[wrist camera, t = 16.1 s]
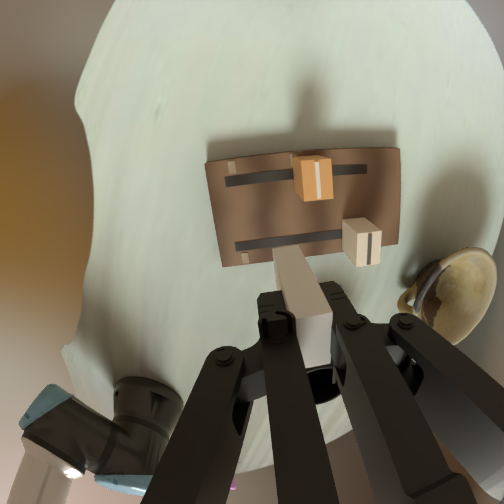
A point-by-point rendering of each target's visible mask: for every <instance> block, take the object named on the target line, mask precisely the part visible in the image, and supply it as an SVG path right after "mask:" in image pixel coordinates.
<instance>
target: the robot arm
mask: <svg viewBox="0 0 504 504" xmlns="http://www.w3.org/2000/svg"><path fill="white" fill-rule="evenodd" d="M272 252H273V261H274V269H275V278H276V287H277V291H273V292H266V293H261V294H260V295H259V297H258V299H257V305H258V314H259V320H258V327H259V333H260V338H259V340H258V342H257V343H256V344H255V345H253V346H252V347H250V348H248V349H245V350H242V351H241V350H239V349H238V348H236V347H232V346H222V347H219V348H216V349H215V350H213V351H212V352H210V354H209V355H208V356H207V358H206V360H205V362H204V365H203V367H202V369H201V371H200V373H199V376H198V378H197V380H196V382H195V384H194V387H193V389H192V391H191V393H190V396H189V398H188V400H187V402H186V404H185V407H184V409H183V402H182V400H181V398H180V397H179V396H178V395H177V394H176V393H175V392H174V391H172V390H171V389H170V388H168V387H166V386H164V385H162V384H160V383H158V382H155V381H153V380H149V379H145V378H140V377H128V378H124V379H121V380H120V381H119V382H118V383H117V385H116V388H115V390H114V418H113V421H111V420H109V419H108V418H106V417H104V416H103V415H101V414H99V413H98V412H96V411H95V410H93V409H92V408H90V407H89V406H87V405H86V404H84V403H83V402H81V401H80V400H79V399H77V398H76V397H74V395H73V394H70V393H68V392H67V391H65V390H64V389H62V388H61V387H59V386H58V385H56V384H49V385H47V386H46V387H45V388H44V389H43V390H42V392H41V393H40V394H39V395H38V397H37V398H36V399H35V400H34V401H33V403H32V404H31V405H30V407H29V408H28V410H27V411H26V412H25V414H24V415H23V417H22V418H21V420H20V421H19V426H20V427H21V429H22V430H25V431H24V433H23V435H22V437H21V440H22V443H23V445H24V448H25V454H24V456H23V459H22V461H21V464H20V466H19V469H18V472H17V475H16V477H15V480H14V483H13V485H12V488H11V491H10V495H9V498H8V501H7V504H65V502H66V499H67V496H68V492H69V489H70V486H71V483H72V480H74V479H77V478H81V477H83V476H84V474H85V470H88V471H90V472H92V473H94V474H95V476H94V478H95V482H96V483H97V484H100V485H102V486H103V487H106V488H108V489H111V490H115V491H118V492H123V493H127V494H132V495H138V496H144V497H143V499H142V501H141V503H140V504H226V500H227V498H228V494H229V491H230V487H231V484H232V480H233V477H234V474H235V470H236V466H237V463H238V459H239V456H240V452H241V448H242V445H243V441H244V437H245V433H246V430H247V426H248V422H249V418H250V414H251V410H252V406H253V400H255V399H258V398H260V397H263V396H265V395H267V404H268V413H269V422H270V431H271V440H272V450H273V459H274V467H275V477H276V486H277V495H278V504H339V500H338V496H337V491H336V487H335V483H334V478H333V474H332V470H331V466H330V462H329V458H328V453H327V449H326V445H325V441H324V437H323V433H322V429H321V425H320V421H319V417H318V413H317V409H316V406H315V402H314V398H313V394H312V390H311V386H310V383H309V379H308V375H307V371H306V368H310V367H315V366H320V365H325V364H330V362H331V356H332V359H333V362H334V367H333V378H332V382H333V384H335V380H336V381H337V384H338V386H339V389H340V392H341V395H342V398H343V401H344V404H345V407H346V410H347V413H348V416H349V419H350V422H351V425H352V428H353V431H354V434H355V437H356V440H357V443H358V446H359V450H360V453H361V456H362V459H363V463H364V466H365V469H366V472H367V476H368V479H369V483H370V486H371V489H372V493H373V496H374V500H375V504H477V502H476V499H475V497H474V494H473V492H472V490H471V487H470V485H469V483H468V481H467V479H466V478H465V477H464V476H463V475H462V474H459V473H455V472H452V471H451V470H450V469H449V467H448V465H447V463H446V460H445V458H444V456H443V454H442V452H441V450H440V447H439V445H438V443H437V441H436V439H435V437H434V435H433V433H434V434H435V435H436V436H437V437H438V438H439V439H440V441H441V442H442V443H443V444H444V445H445V446H446V447H447V449H448V450H449V451H450V452H451V453H452V454H453V455H454V457H455V458H456V459H457V460H458V461H459V462H460V463H461V465H462V466H463V467H464V468H465V469H466V470H467V472H468V473H469V474H470V475H471V476H472V477H473V479H474V480H475V481H476V482H477V483H478V484H479V485H480V486H481V487H482V489H483V490H484V491H485V492H487V493H488V494H489V495H491V496H492V497H494V498H496V499H498V500H500V503H499V504H504V388H503V387H502V386H501V385H500V384H499V383H497V382H496V381H495V380H494V379H493V378H492V377H491V376H489V375H488V374H487V373H486V372H485V371H484V370H483V369H481V368H480V367H479V366H478V365H477V364H475V363H474V362H473V361H472V360H471V359H470V358H468V357H467V356H466V355H465V354H463V353H462V352H461V351H459V349H457V348H456V347H455V346H454V345H452V344H451V343H450V342H449V341H447V340H446V339H445V338H444V337H442V336H441V335H440V334H439V333H437V332H436V331H435V330H434V329H432V328H431V327H430V326H429V325H427V324H426V323H425V322H423V321H422V320H421V319H420V318H418V317H417V316H415V315H413V314H410V313H398V314H395V315H394V316H392V317H391V319H390V322H389V323H388V324H377V323H371V322H370V321H369V320H368V319H367V318H366V317H365V316H363V315H361V314H357V312H356V310H355V309H354V307H353V305H352V304H351V302H350V301H349V299H348V298H347V296H346V294H345V293H344V291H343V289H342V288H341V286H340V285H338V284H337V283H335V282H334V281H330V282H324V283H318V282H317V280H316V278H315V276H314V274H313V272H312V270H311V268H310V266H309V264H308V262H307V260H306V259H305V257H304V255H303V253H302V251H301V249H300V247H299V245H294V246H287V247H280V248H273V249H272ZM412 359H413V360H414V361H415V362H416V363H415V362H414V361H413V360H412ZM174 428H175V429H174ZM173 430H174V431H173ZM431 430H432V431H433V433H432V431H431ZM172 431H173V433H172ZM171 433H172V435H171V437H170V434H171ZM169 437H170V440H169Z"/></svg>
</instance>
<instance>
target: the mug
mask: <svg viewBox="0 0 504 504" xmlns="http://www.w3.org/2000/svg"><path fill="white" fill-rule="evenodd" d="M333 367H334V362H333V359H332V356H331V362H330V364H325V365H320V366H315V367H310V368H306V371H307V375H308V379H309V383H310V386H311V390H312V394H313V398H314V402H315V405H318V404H322V403H326V402H328V401H331V400H333V399H335V398H336V397H338V396H339V395H341V392H340V389H339V386H338V384H337V381H336V380H335V384H333V382H332V378H333Z"/></svg>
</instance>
